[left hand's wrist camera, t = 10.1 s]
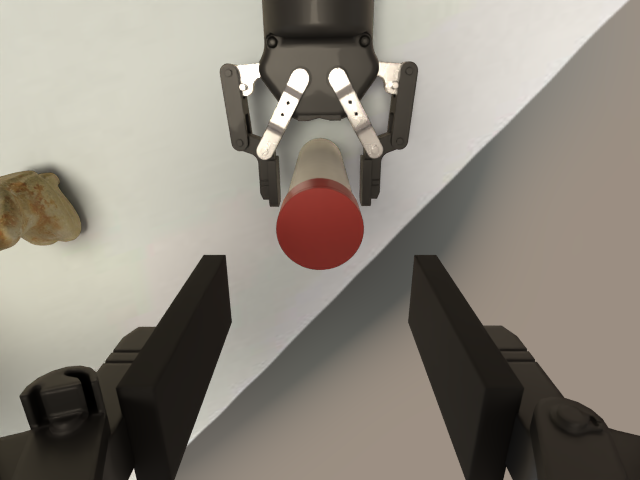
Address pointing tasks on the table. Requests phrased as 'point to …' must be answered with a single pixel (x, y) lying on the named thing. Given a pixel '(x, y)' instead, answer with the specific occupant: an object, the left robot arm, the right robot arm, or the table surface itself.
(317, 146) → the white cylindrical bottle
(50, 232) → the sculpture
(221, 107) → the table surface
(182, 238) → the table surface
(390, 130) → the right robot arm
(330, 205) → the lid
